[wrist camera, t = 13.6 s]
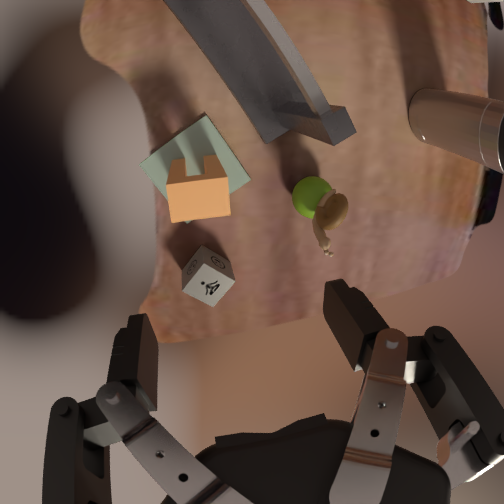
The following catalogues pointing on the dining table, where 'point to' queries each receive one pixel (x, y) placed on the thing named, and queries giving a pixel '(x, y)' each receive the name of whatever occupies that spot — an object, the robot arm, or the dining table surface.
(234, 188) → the felt mat
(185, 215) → the c link
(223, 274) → the dice cube
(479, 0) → the bottle
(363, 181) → the dining table surface
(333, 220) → the snail figurine
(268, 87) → the rail stand
